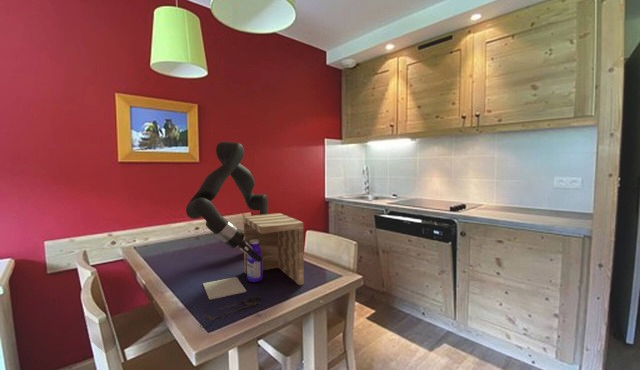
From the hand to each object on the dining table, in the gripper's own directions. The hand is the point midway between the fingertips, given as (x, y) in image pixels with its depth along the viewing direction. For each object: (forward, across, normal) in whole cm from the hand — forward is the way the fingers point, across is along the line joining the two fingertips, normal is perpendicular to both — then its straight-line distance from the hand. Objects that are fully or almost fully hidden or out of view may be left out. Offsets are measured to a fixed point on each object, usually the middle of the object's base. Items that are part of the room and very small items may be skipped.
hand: (257, 257), depth 127 cm
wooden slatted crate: (+12, 0, +3) cm, 12 cm away
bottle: (+6, 0, +8) cm, 10 cm away
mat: (-3, 0, +18) cm, 18 cm away
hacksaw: (-3, -21, +19) cm, 28 cm away
